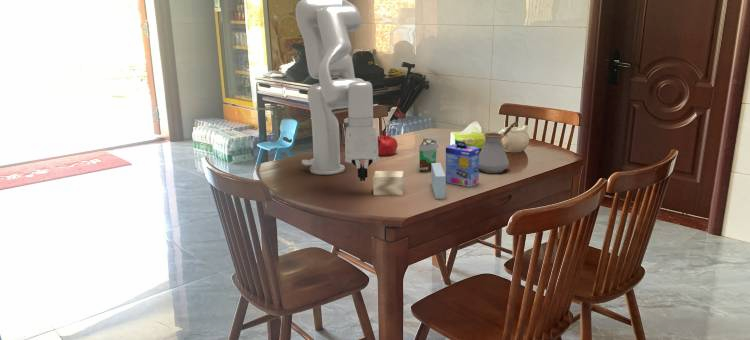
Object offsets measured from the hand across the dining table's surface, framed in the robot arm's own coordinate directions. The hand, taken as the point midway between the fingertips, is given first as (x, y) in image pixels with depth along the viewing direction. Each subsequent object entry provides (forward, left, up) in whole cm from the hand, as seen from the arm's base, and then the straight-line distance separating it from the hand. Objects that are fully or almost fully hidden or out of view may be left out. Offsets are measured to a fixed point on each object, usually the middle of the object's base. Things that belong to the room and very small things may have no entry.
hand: (362, 179), depth 182 cm
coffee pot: (+48, +27, -4) cm, 55 cm away
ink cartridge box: (+32, +8, -4) cm, 33 cm away
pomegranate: (+7, +51, -4) cm, 52 cm away
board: (+24, 0, -4) cm, 24 cm away
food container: (+23, +27, -4) cm, 36 cm away
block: (+8, 0, -4) cm, 9 cm away
